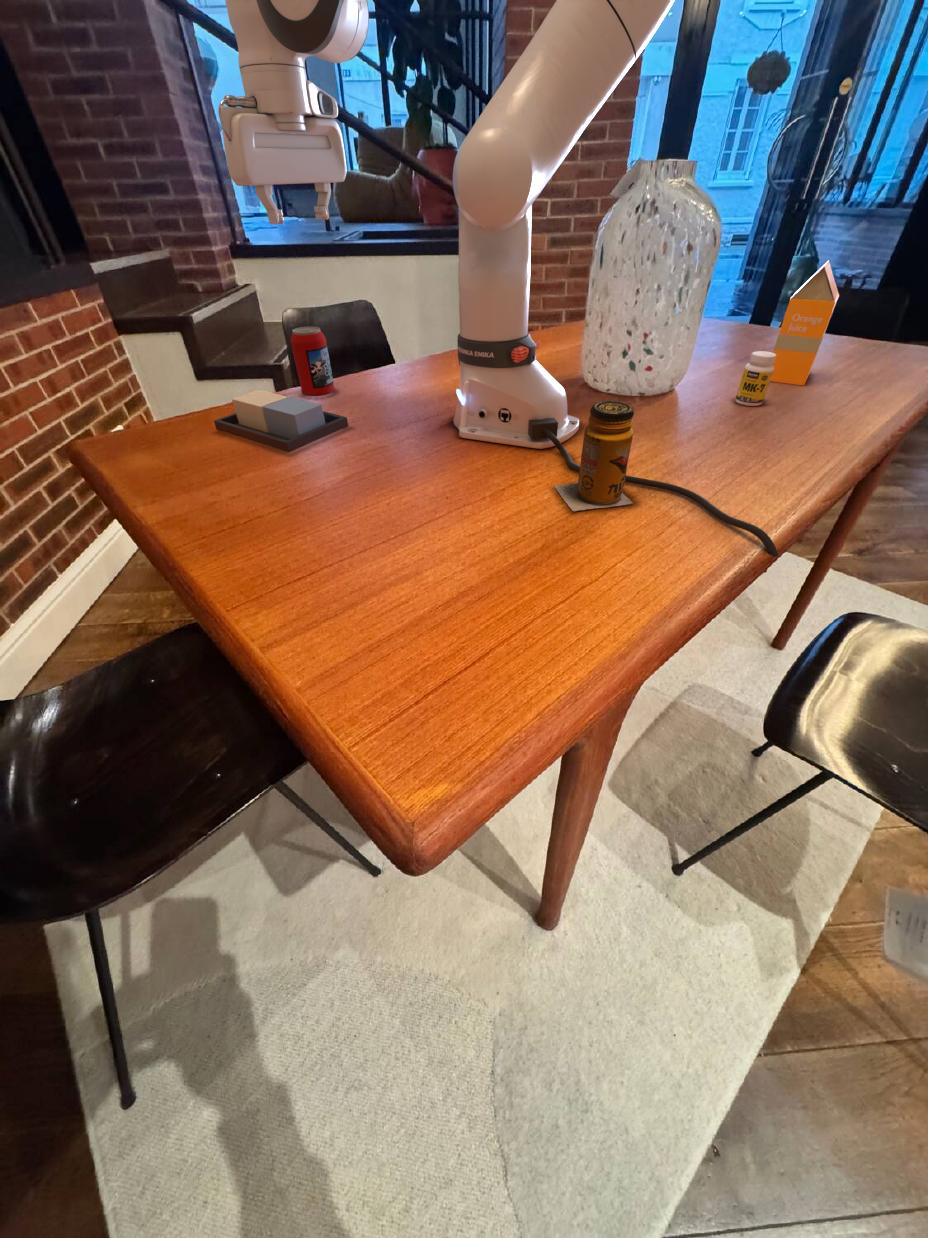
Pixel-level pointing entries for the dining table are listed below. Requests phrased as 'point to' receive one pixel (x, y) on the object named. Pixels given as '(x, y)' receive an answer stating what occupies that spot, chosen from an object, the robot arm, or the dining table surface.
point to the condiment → (602, 458)
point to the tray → (279, 442)
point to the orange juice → (804, 327)
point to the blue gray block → (293, 417)
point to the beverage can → (312, 361)
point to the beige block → (254, 408)
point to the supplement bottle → (756, 378)
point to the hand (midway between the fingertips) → (300, 221)
